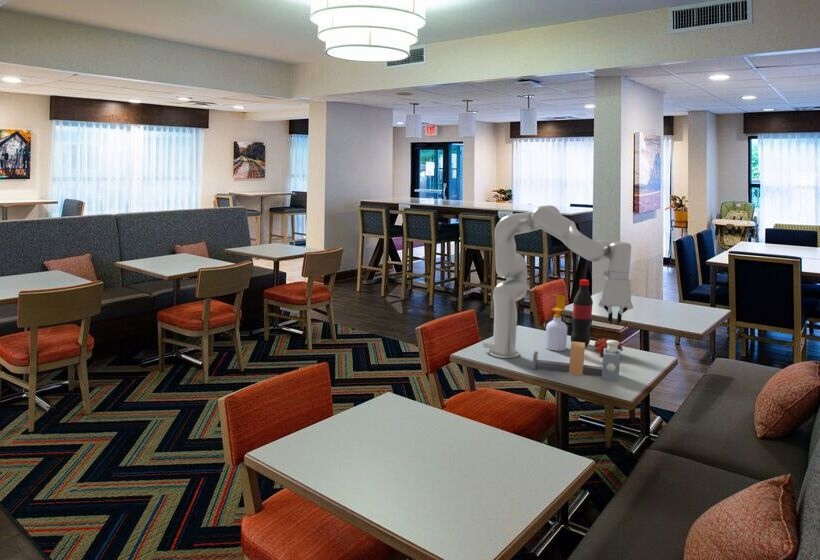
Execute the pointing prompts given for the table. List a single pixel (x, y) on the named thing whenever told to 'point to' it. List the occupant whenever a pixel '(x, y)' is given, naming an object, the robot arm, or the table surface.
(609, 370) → the grey boxy piece
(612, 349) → the plunger
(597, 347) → the dragon fruit
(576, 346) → the wooden block
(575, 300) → the cola bottle
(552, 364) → the rail
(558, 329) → the soap bottle
